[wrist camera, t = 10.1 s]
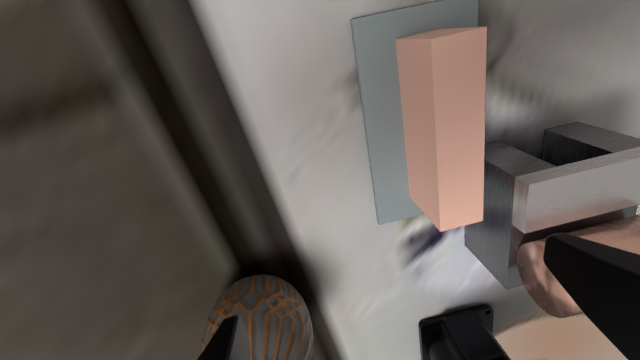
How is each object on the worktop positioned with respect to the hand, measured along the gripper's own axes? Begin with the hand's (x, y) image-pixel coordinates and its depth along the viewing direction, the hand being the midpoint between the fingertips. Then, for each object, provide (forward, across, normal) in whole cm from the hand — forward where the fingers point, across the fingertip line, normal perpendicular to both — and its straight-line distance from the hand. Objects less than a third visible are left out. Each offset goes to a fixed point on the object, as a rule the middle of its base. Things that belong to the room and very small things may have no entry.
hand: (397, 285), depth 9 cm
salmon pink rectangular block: (+12, -6, -1) cm, 13 cm away
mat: (+12, -6, 0) cm, 13 cm away
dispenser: (+12, -13, +6) cm, 19 cm away
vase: (+12, +7, +10) cm, 17 cm away
